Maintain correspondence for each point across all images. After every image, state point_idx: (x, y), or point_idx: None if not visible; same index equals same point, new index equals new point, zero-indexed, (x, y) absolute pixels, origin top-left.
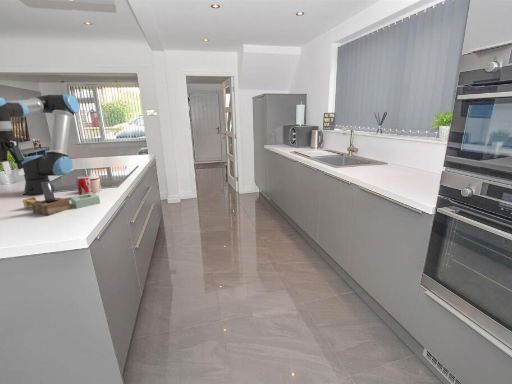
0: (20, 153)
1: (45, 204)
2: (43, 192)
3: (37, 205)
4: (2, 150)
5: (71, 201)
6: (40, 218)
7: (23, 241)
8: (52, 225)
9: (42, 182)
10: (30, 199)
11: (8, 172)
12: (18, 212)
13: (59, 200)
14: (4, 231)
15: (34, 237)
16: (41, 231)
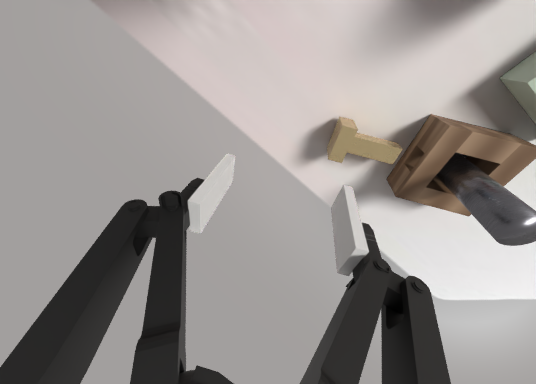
0: (438, 368)
1: (456, 205)
2: (467, 209)
3: (422, 202)
4: (184, 351)
5: (512, 83)
6: (433, 212)
7: (461, 291)
8: (493, 248)
9: (502, 236)
10: (349, 146)
11: (231, 174)
12: (331, 172)
13: (500, 167)
14: (392, 260)
15: (475, 284)
16: (478, 268)
